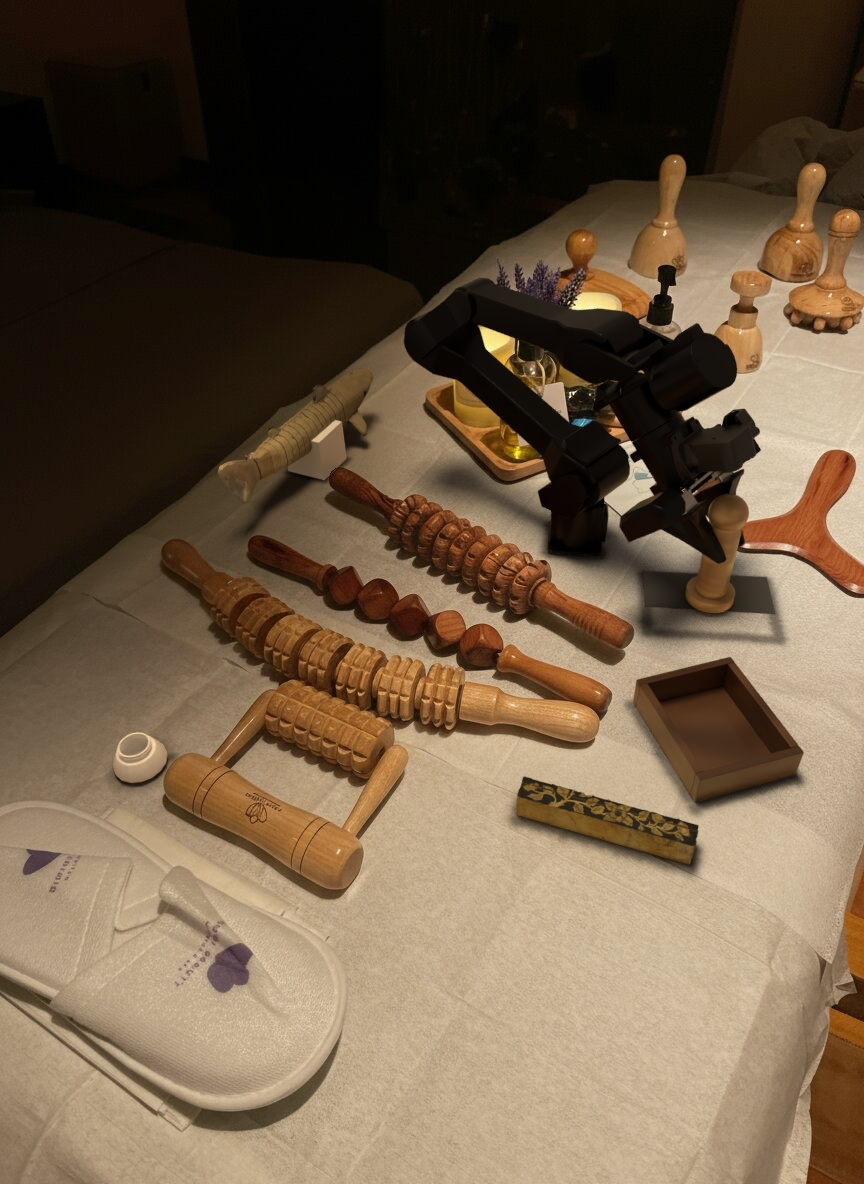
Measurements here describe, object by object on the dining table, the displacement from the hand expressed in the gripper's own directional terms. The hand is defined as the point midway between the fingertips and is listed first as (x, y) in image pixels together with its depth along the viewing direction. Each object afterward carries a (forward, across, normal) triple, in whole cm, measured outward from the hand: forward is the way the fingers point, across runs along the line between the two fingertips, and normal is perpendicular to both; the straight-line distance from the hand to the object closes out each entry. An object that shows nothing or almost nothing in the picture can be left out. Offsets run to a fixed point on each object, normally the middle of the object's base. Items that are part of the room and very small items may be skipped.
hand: (731, 554), depth 92 cm
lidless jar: (-15, -56, +27) cm, 64 cm away
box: (+12, -17, -1) cm, 21 cm away
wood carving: (-34, -12, +47) cm, 59 cm away
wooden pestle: (+4, 0, +6) cm, 7 cm away
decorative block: (+11, -32, +1) cm, 34 cm away
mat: (+5, 0, +7) cm, 8 cm away
